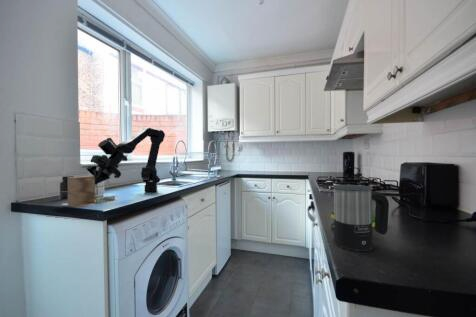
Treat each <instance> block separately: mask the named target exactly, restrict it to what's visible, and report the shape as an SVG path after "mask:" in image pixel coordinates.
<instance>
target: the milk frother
mask: <svg viewBox="0 0 476 317" xmlns="http://www.w3.org/2000/svg"><path fill="white" fill-rule="evenodd" d="M332 188H333V206H334V207H333V212H334V219H333V222H332V223H331V225H330V230H332V232H333V233H334V234H333V239H332V242H333V244H334V245H336V246H337V247H339V248H341V249H345V250H348V251H353V252H369V251H372V250H373V249H374V247H375V246H374V244H373V227H372V217H373V203H372V202H373V200H374V202H375V209H374V210H375V211H374V215H375V216H374V217H375V227H374V231H375V232H376V233H378V234H380V235H386V234H387V233H388V226H389V225H388V224H389V222H388V221H389V209H390V203H389V199H388V198H387V197H386V196H385V194H383V193H382V192H379V191H374V190H373V189H374V188H373V187H372V186H368V185H360V184H358V185H357V184H336V185H332Z"/></svg>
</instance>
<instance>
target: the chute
mask: <svg viewBox="0 0 476 317" xmlns="http://www.w3.org/2000/svg"><path fill="white" fill-rule="evenodd" d="M120 200H122V199H121V198H116V195H107V196H104V193H101V194H95V203H90V204H85V205H80V206H72V205H68V202H66V203H61V204H60V205H62V206H68V207H73V208H74V207H76V208H85V207H90V206H95V205H100V204H105V203H106V204H107V203H110V202H115V201H120Z"/></svg>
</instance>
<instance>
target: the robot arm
mask: <svg viewBox="0 0 476 317" xmlns="http://www.w3.org/2000/svg"><path fill="white" fill-rule="evenodd" d="M165 136H166V134H165V132H164V130H162V129H154V128H151V127H143V129H142V130H140V131H138V133H136V134H135V135H133V136H132V137H131V138H130V139H128V140H124V141H122V142H120V143H118V144H116V143H115V141H114V140H113V138H112V137H107V138H106V139H104V140H102V141H100V142H99V143H98V145H97V146H98V147H99V149H101V151H103V152H104V153H105V154H102V155H98V154H97V155H92V156H91V159H90V163H94V164H95V165H88V166H87V168H86V171H89V172H90V173H91V174H92V175H93V176H95V185H96V184H98V183H100V182H102V181H104V182H105V181H107V180H109V179H110V180H111V176H112V175H113V176H114V178H115V179H119V178H120V177H122V172H121V170H119V169H118V168H119V167H120V166H119V164H120V163H122V161H123V162H127V161H128V156H127V155H125V154H132V153H133V151H135V149H136V147H137V145H138V144H140V143H141V142H142V141H144V140H145V139H146V138H147V137H149V140H150V143H151V145H150V149H149V152H148V157H147V163H146V165H145V167H142V168H141V172H140V177H141V178H142V182H143V183H145V184H144V194H157V193H158V191H159V190H158V183H160V181H161V179H160V177H159V176H158V174H157V168H156V165H157V160H158V156H159V151H160V146H161V144H162V143H163V141H164V139H165ZM107 155H109V156H107Z"/></svg>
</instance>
